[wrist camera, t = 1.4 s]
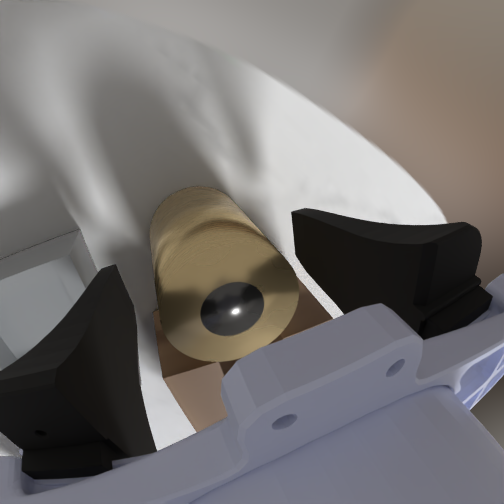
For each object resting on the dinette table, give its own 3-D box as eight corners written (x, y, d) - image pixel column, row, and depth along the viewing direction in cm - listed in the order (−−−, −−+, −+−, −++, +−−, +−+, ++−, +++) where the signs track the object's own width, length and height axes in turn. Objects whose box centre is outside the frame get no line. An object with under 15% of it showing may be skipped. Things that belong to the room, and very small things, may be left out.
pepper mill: (165, 284, 15) (184, 376, 10) (137, 202, 13) (138, 272, 8) (249, 258, 16) (302, 335, 11) (233, 175, 14) (293, 224, 9)
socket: (31, 378, 15) (26, 409, 13) (-38, 276, 11) (-56, 303, 9) (138, 352, 16) (141, 385, 14) (80, 229, 12) (69, 254, 10)
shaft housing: (194, 397, 20) (211, 453, 16) (152, 311, 15) (163, 378, 12) (297, 361, 21) (328, 409, 17) (289, 267, 17) (333, 318, 13)
